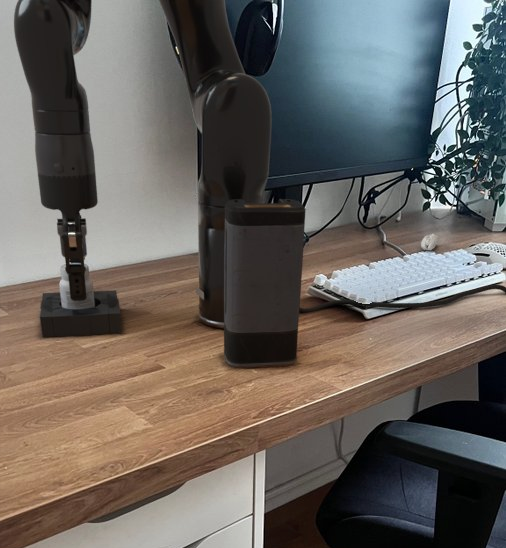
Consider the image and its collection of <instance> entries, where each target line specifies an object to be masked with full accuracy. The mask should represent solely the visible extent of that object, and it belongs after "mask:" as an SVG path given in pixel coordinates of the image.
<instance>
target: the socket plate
mask: <svg viewBox="0 0 506 548" xmlns="http://www.w3.org/2000/svg"><path fill="white" fill-rule="evenodd" d="M93 291H94V302H95V307H94V308H89V309H79V310H75V309H66V308H63V307H62V303H61V295H60V292H44V293H43V292H42V295H41V296H42V297H41V302H40V313H39V321H40V329H41V337H42V338H55V337H56V338H57V337H81V336H92V335H112V334H113V335H114V334H122V331H123V330H122V317H121V310H120V309H121V307H120V301H119V298H118V293H117V289H115V290H93Z"/></svg>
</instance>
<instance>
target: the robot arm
mask: <svg viewBox="0 0 506 548" xmlns="http://www.w3.org/2000/svg"><path fill="white" fill-rule="evenodd" d="M158 3H159V4H160V7H161V10H162V12H163V15H164V17H165V20H166V22H167V24H168V26H169V29H170V31H171V34H172V36H173V39H174V42H175V46H176V48H177V51H178V56H179V59H180V63H181V67H182V71H183V75H184V79H185V83H186V87H187V93H188V97H189V102H190V106H191V110H192V115H193V120H194V122H195V124H196V127H197V129H198V130H199V132H200V134H201V169H200V170H201V171H200V176H199V179H198V182H197V223H198V224H197V229H198V231H197V235H198V236H197V237H198V239H197V240H198V245H197V247H198V286H197V285H195V293H196V294H197V295H198V320H199V322H200V323H202V324H204V325H206V326H209V327H211V328H217V329H223V330H224V245H225V204H226V203H227V202H228V201H229V200H234V199H243V200H244V201H245V202H246V203H264V196H265V189H266V186H267V183H268V179H269V171H270V159H271V158H270V157H271V143H272V105H271V102H270V98H269V95H268V92H267V91H266V89H265V88H264V86H263V85H262V84H261V82H259V81H258V80H257V79H256V78H254V77H252V76H251V75H248V74H247V73H246V72H245V70H244V67H243V64H242V62H241V60H240V59H241V58H240V57H239V53H238V50H237V48H236V44H235V41H234V39H233V35H232V32H231V29H230V24H229V20H228V14H227V9H226V0H158ZM91 21H92V0H17V2H16V5H15V7H14V13H13V32H14V38H15V39H14V40H15V43H16V48H17V52H18V57H19V59H20V63H21V67H22V70H23V74H24V77H25V80H26V83H27V86H28V88H29V92H30V97H31V98H30V99H31V110H32V111H31V112H32V120H33V129H34V154H35V162H36V171H37V179H38V188H39V196H40V203H41V206H42V207H44V208H46V209H48V210H53V211H55V210H56V211H57V210H58V211H59V212H60V213H61V218H56V230H57V231H56V232H57V236H59V242H60V253H61V256H62V257H63V258H64V260H65V264H66V267H65V271H66V272H67V275H68V278H69V288H70V297H71V300H73V301H82V300H85V299H86V286H85V275H84V274H85V271H86V267H84V264H85V260H86V257H87V255H88V250H87V237H86V236H87V235H88V229H87V227H88V226H87V218H86V217H83V218H82V215H81V213H80V212H81V211H82V210H90V209H93V208H95V207H96V206H97V205H98V203H99V201H98V199H99V198H98V188H97V176H96V163H95V161H96V160H95V152H94V151H95V150H94V146H93V145H94V144H93V141H92V135H91V134H92V133H91V125H90V113H89V112H90V111H89V101H88V95H87V91H86V88H85V87H84V86H83V85H82V84H81V83H80V82H79V79H78V76H77V69H76V63H75V55H77V54H79V53H80V52H81V51H82V49H83V48H84V47H85V45H86V42H87V39H88V38H89V34H90V27H91ZM70 263H81V265H80V264H70ZM490 290H499V291H502V292H504V293H505V294H506V286H505V285H502V284H488V285H485V286H481V287H477V288H475V289H471V290H466V291H462V292H459V293H457V294H455V295H452V296H450V297H449V298H445V299H441V300H434V301H425V302H380V301H371V302H372V303H370V304H362V303H358V302H356V301H354V300H355V299H336V300H331V301H327V302H324V303H321V304H319V305H317V306H313V307H310V308H304V307H300V308H299V314H309V313H312V312H316V311H320V310H324V309H326V308H330V307H333V306H334V307H335V306H346V305H347V306H362V307H371V308H382V309H419V308H420V309H421V308H430V307H431V308H433V307H438V306H444V305H447V304H451V303H453V302H456V301H457V300H459V299H462V298H464V297H468V296H472V295H477V294H479V293H484V292H486V291H487V292H488V291H490Z"/></svg>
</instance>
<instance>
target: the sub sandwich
mask: <svg viewBox="0 0 506 548" xmlns="http://www.w3.org/2000/svg"><path fill="white" fill-rule="evenodd" d="M438 242H439V236H438V235H437V234H435V233H431V234H428V235H425V236H424V237H423V238H422V240H421V242H420V248H421V249H422V250H424V251H432V250H433V249H435V248H436V247H437V245H438Z"/></svg>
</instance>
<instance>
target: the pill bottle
mask: <svg viewBox="0 0 506 548" xmlns="http://www.w3.org/2000/svg"><path fill="white" fill-rule="evenodd" d="M70 264H80V265H81V263H70ZM65 267H66V263H64V264H62V265H60V267H59V272H60V278H61V279H60V280H59V285H58V286H59V293H60V295H61V303H62V307H63V308H66V309H75V310H79V309H89V308H94V307H95V302H94V291H95V290H94V282H93V280H92V278H90V267H89V265H88V264H86V263H84V267H86V271H85V274H84V275H85V286H86V299H85V300H82V301H73V300H71V297H70V288H69V278H68V275H67V272H66V271H65Z"/></svg>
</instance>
